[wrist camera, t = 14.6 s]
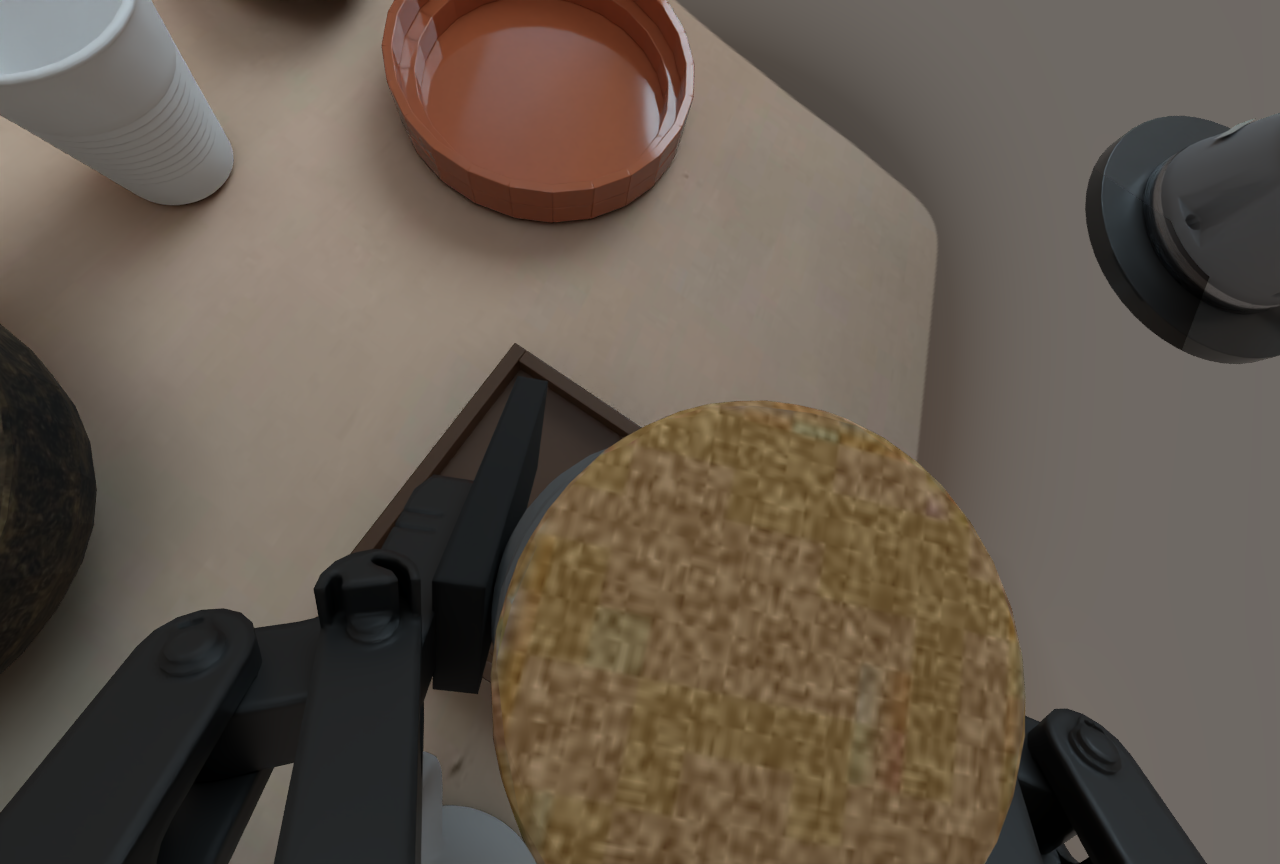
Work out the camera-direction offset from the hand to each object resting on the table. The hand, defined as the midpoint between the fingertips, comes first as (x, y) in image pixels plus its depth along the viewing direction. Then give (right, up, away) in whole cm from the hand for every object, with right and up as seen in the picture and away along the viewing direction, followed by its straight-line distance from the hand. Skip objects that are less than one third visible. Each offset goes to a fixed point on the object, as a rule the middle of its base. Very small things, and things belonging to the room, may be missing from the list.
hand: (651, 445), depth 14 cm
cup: (-28, +17, +18) cm, 38 cm away
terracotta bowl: (-7, +23, +23) cm, 33 cm away
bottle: (-1, -5, +5) cm, 7 cm away
